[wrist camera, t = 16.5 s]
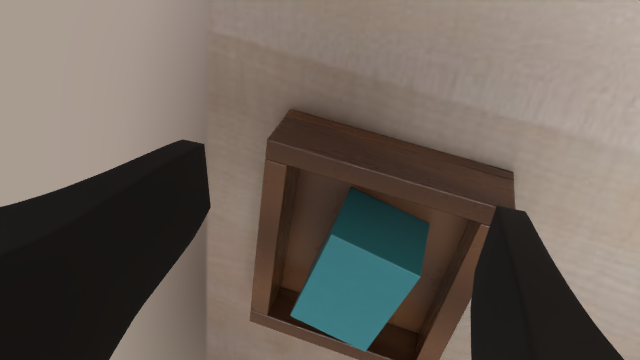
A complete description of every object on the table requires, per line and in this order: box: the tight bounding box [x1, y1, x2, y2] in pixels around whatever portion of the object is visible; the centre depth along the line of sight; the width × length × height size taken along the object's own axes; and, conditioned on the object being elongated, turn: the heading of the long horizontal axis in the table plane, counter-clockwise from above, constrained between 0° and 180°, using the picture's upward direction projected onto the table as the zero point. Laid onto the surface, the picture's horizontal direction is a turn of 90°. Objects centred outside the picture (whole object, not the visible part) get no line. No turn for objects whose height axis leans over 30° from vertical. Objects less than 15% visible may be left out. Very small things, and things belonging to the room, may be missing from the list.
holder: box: [250, 110, 515, 360], centre depth 23 cm, size 12×10×3 cm
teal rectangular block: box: [290, 187, 430, 351], centre depth 23 cm, size 4×6×4 cm, turn 161°
